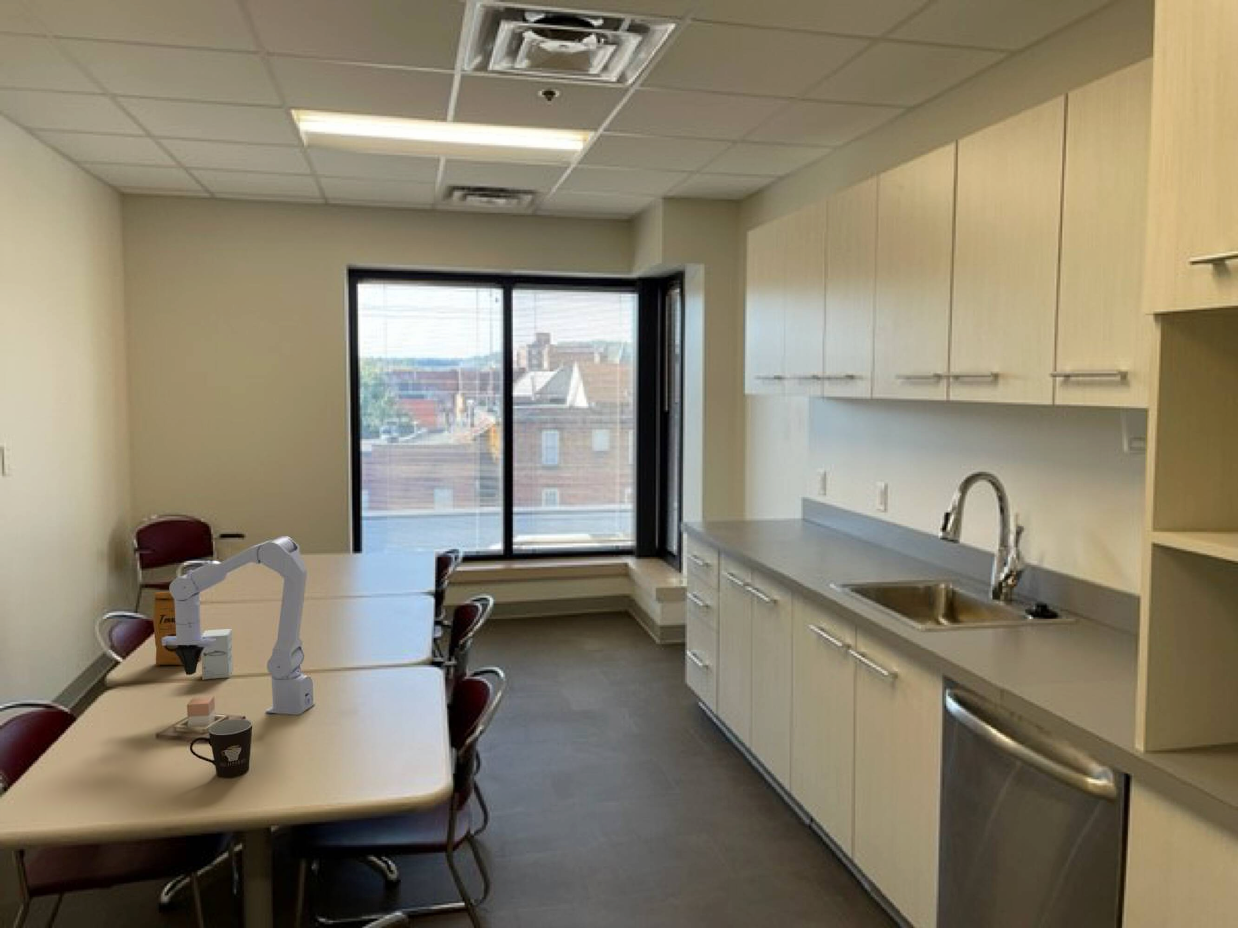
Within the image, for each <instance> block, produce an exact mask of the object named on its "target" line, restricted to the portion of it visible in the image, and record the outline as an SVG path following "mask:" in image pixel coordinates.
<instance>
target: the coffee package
mask: <svg viewBox="0 0 1238 928" xmlns="http://www.w3.org/2000/svg"><path fill="white" fill-rule="evenodd" d="M153 597H154V606H153V610H154V611H153V618H152V619H153V620H152V621H153V629H154V633H153V634H154V641H155V642H154V644H155V645H154V646H155V647H156V650H155V666H175V665H177V666H183V664H182V662H181V660H180V659H179V657H178V656H177V654H176V653H175V649H177V648H178V645H166V646H164V645H162V638H163V637H166V636H176V621H175V601H174V597H172V595H171V594H170V591H157V592H156V591H155V592H154V596H153ZM199 661H202V657H201V655H200V657H199V660H198V662H199Z"/></svg>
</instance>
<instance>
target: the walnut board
mask: <svg viewBox="0 0 1238 928" xmlns="http://www.w3.org/2000/svg"><path fill="white" fill-rule="evenodd" d="M233 719H246V716H245V715H236V714H222V713H215V721H214V722H213V723H211V724H210V725H208V726H206V727H193V726H188V716H186V717H184V718H183V719H181V720H179V721H177V722H175V723H173V724H172V725H170V726H168V727H166V728H164V729H162V730H161V731H159V732H157V733H155V739H162V740H171V741H172V740H174V741H187V742H192V741H193V740H195V739H196V738H199V737H205V738H210V736H209V728H210V727H211V726H213V725H214V724H217V723H219V722H223V721H227V720H233ZM246 720H247V719H246ZM197 742H199V743H207V742H206V741H204V740H199V741H197ZM197 742H196V743H197Z"/></svg>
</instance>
